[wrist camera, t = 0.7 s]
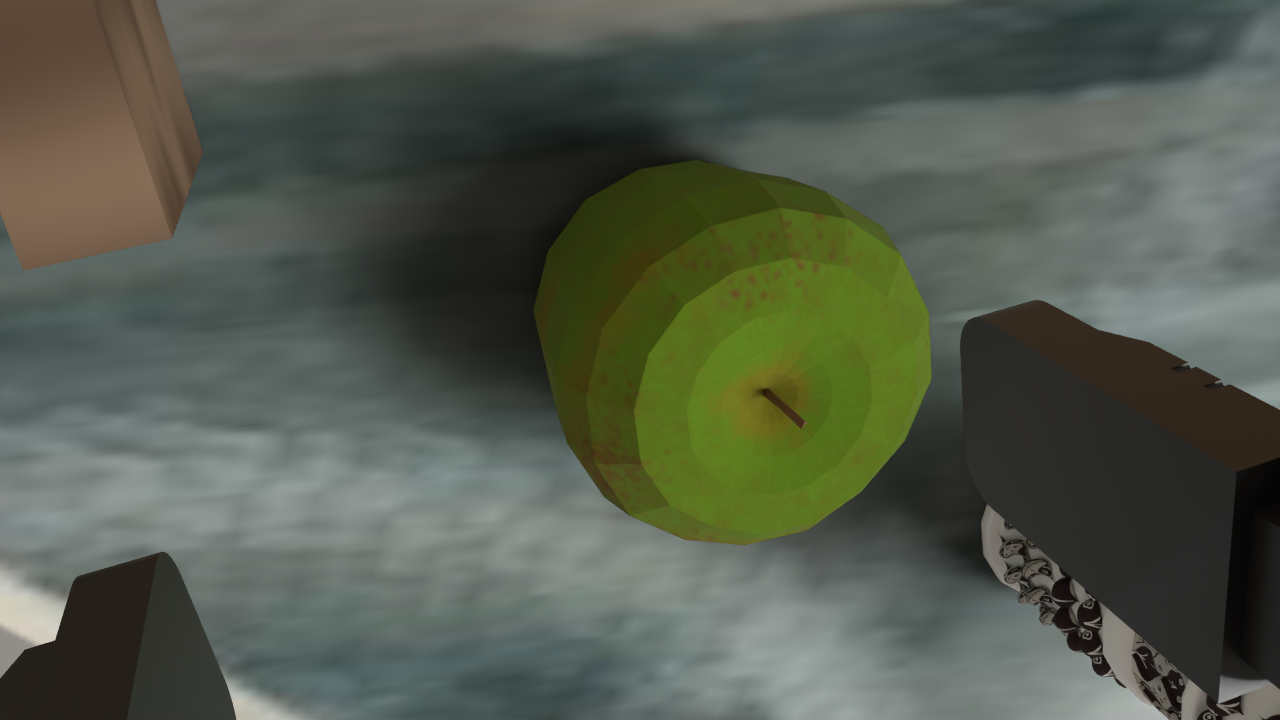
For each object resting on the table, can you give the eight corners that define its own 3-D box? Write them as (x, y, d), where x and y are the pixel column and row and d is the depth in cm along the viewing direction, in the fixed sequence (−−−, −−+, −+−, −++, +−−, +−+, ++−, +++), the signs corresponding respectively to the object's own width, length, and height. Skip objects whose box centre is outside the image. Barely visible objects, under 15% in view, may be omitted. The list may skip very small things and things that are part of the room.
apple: (806, 111, 38) (986, 176, 28) (826, 395, 42) (988, 537, 32) (486, 175, 35) (561, 270, 26) (542, 469, 40) (625, 646, 30)
